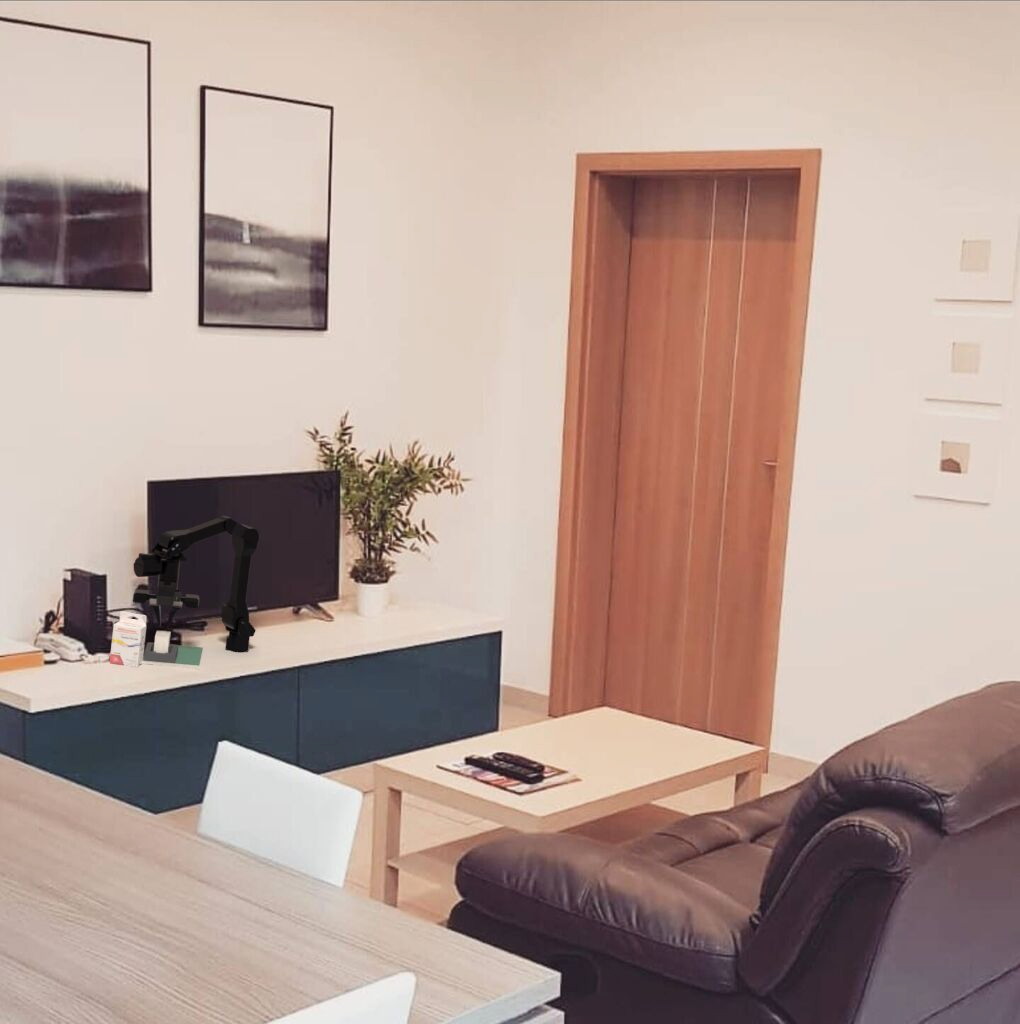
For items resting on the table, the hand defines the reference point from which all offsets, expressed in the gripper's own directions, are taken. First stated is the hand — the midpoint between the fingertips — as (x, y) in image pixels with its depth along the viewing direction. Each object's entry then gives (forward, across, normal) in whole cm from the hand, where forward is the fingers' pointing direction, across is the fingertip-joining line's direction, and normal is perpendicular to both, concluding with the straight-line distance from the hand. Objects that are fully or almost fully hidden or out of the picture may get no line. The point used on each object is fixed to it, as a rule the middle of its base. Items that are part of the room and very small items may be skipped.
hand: (163, 627), depth 451 cm
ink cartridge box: (+10, -9, -7) cm, 15 cm away
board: (+10, +4, +4) cm, 11 cm away
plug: (+9, 0, 0) cm, 9 cm away
